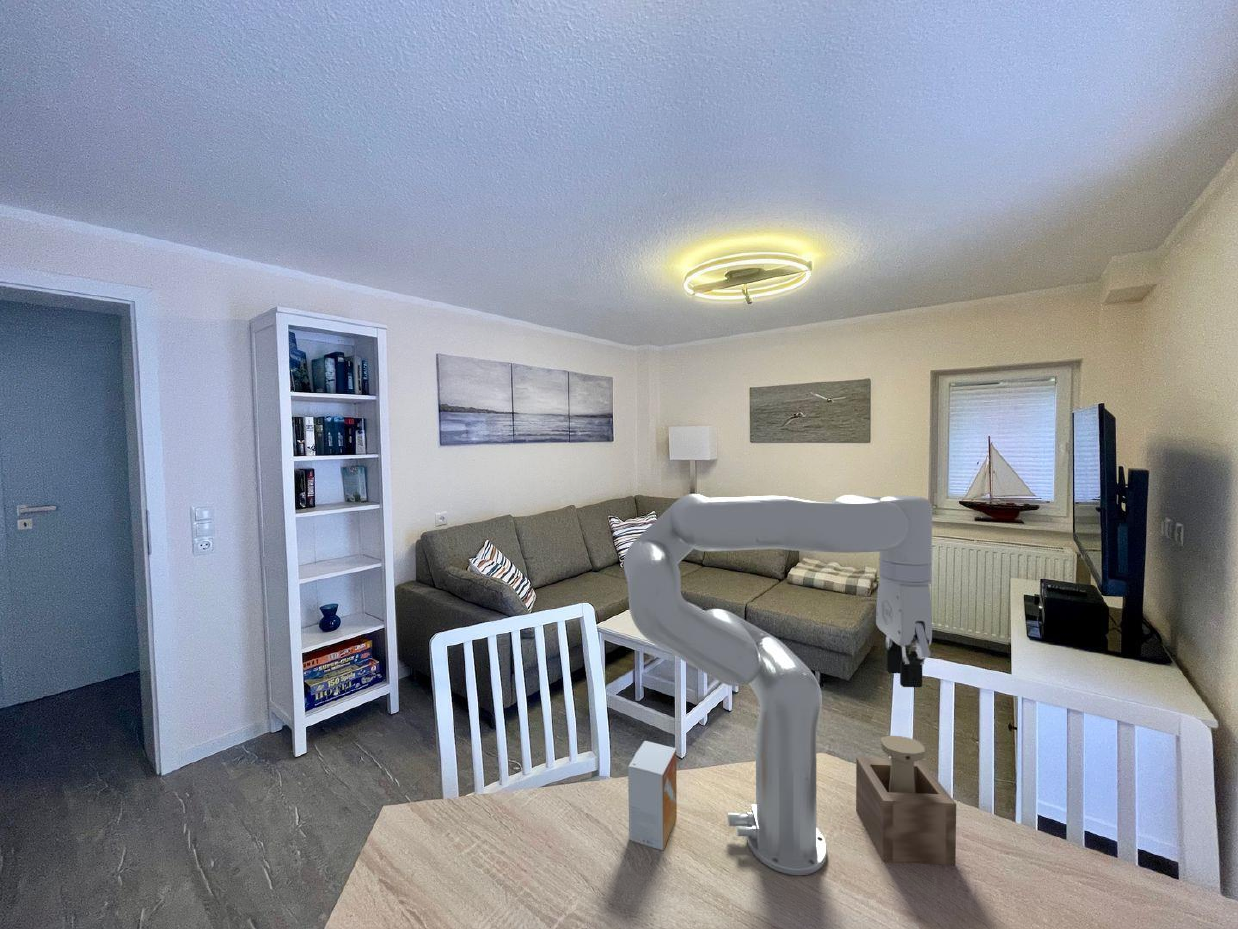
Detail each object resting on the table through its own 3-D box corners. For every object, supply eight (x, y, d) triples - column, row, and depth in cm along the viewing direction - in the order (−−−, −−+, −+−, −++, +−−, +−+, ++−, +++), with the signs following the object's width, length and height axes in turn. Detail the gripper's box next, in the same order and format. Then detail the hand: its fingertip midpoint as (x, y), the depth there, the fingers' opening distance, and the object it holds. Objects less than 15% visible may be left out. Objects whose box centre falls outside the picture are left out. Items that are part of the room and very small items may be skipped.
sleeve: (882, 861, 80) (883, 800, 80) (856, 810, 91) (856, 757, 90) (955, 865, 79) (956, 803, 79) (919, 813, 90) (920, 759, 90)
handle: (928, 844, 82) (929, 755, 81) (886, 839, 83) (886, 751, 82) (916, 822, 87) (917, 737, 86) (876, 818, 88) (877, 734, 87)
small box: (663, 852, 83) (662, 775, 82) (628, 840, 85) (626, 766, 84) (678, 818, 90) (677, 747, 89) (644, 808, 93) (643, 739, 92)
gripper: (861, 559, 92) (860, 657, 92) (905, 585, 75) (904, 705, 76) (903, 559, 91) (903, 658, 92) (958, 585, 74) (956, 706, 75)
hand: (903, 678), depth 84 cm, fingers open, 4 cm apart
